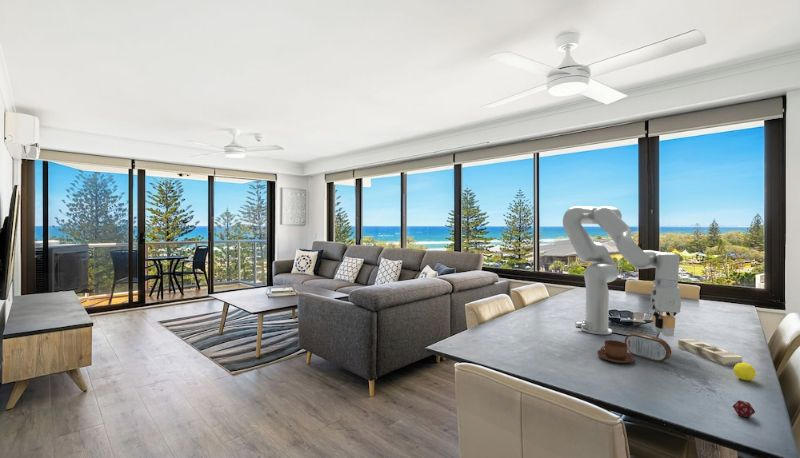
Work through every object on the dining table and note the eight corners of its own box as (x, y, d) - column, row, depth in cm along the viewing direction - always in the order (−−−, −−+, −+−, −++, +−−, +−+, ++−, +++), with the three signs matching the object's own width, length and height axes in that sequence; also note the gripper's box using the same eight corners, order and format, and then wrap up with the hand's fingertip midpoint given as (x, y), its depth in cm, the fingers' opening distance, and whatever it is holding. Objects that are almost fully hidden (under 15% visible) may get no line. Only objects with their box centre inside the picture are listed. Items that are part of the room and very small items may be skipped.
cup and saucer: (621, 368, 131) (621, 350, 131) (590, 357, 141) (590, 340, 141) (641, 362, 136) (642, 345, 136) (610, 352, 147) (610, 336, 147)
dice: (755, 422, 96) (755, 406, 96) (732, 416, 99) (732, 401, 99) (755, 416, 98) (755, 401, 98) (732, 410, 101) (732, 396, 101)
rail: (742, 365, 134) (742, 356, 134) (724, 365, 134) (724, 357, 134) (693, 346, 154) (694, 339, 154) (678, 346, 154) (678, 339, 154)
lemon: (754, 385, 118) (754, 368, 118) (731, 379, 122) (731, 363, 122) (757, 379, 122) (757, 363, 122) (735, 374, 126) (735, 358, 126)
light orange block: (674, 336, 149) (675, 318, 149) (667, 336, 149) (668, 318, 148) (658, 330, 157) (659, 312, 157) (651, 330, 157) (653, 312, 156)
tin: (671, 363, 136) (672, 340, 135) (667, 365, 134) (668, 342, 134) (627, 351, 148) (627, 330, 148) (623, 352, 146) (623, 331, 146)
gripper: (654, 284, 147) (651, 330, 148) (692, 285, 149) (689, 330, 150) (640, 281, 155) (637, 324, 156) (677, 281, 156) (674, 325, 157)
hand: (663, 327), depth 153 cm, fingers closed on light orange block, 3 cm apart
